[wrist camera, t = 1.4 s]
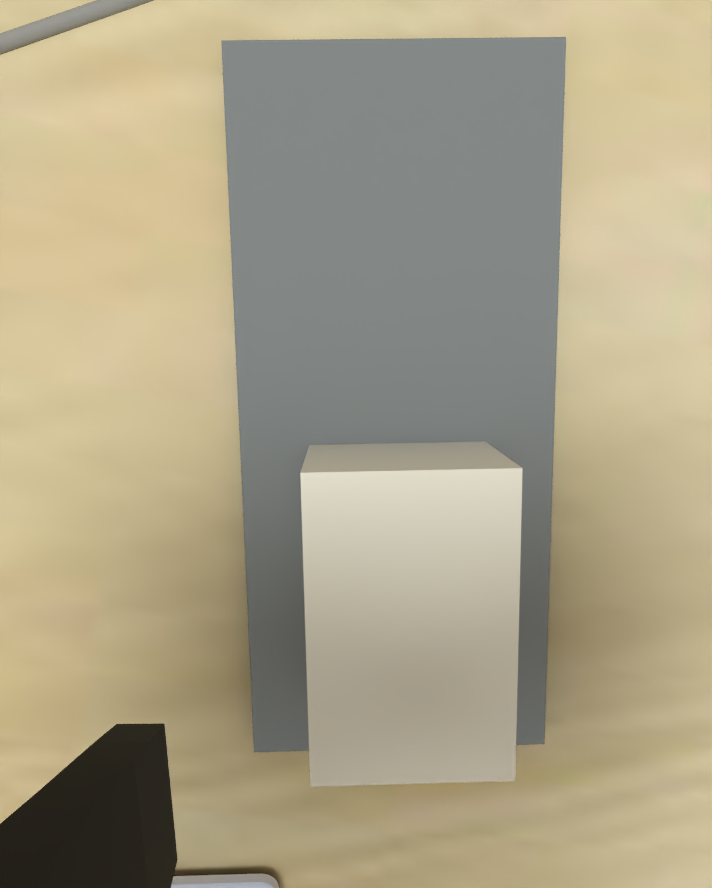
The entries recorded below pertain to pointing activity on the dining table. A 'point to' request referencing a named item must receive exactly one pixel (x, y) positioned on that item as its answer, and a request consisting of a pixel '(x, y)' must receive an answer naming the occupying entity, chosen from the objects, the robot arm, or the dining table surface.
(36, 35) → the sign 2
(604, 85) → the dining table surface
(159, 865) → the robot arm
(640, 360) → the dining table surface
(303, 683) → the mat
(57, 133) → the dining table surface
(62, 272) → the dining table surface
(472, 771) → the card box
